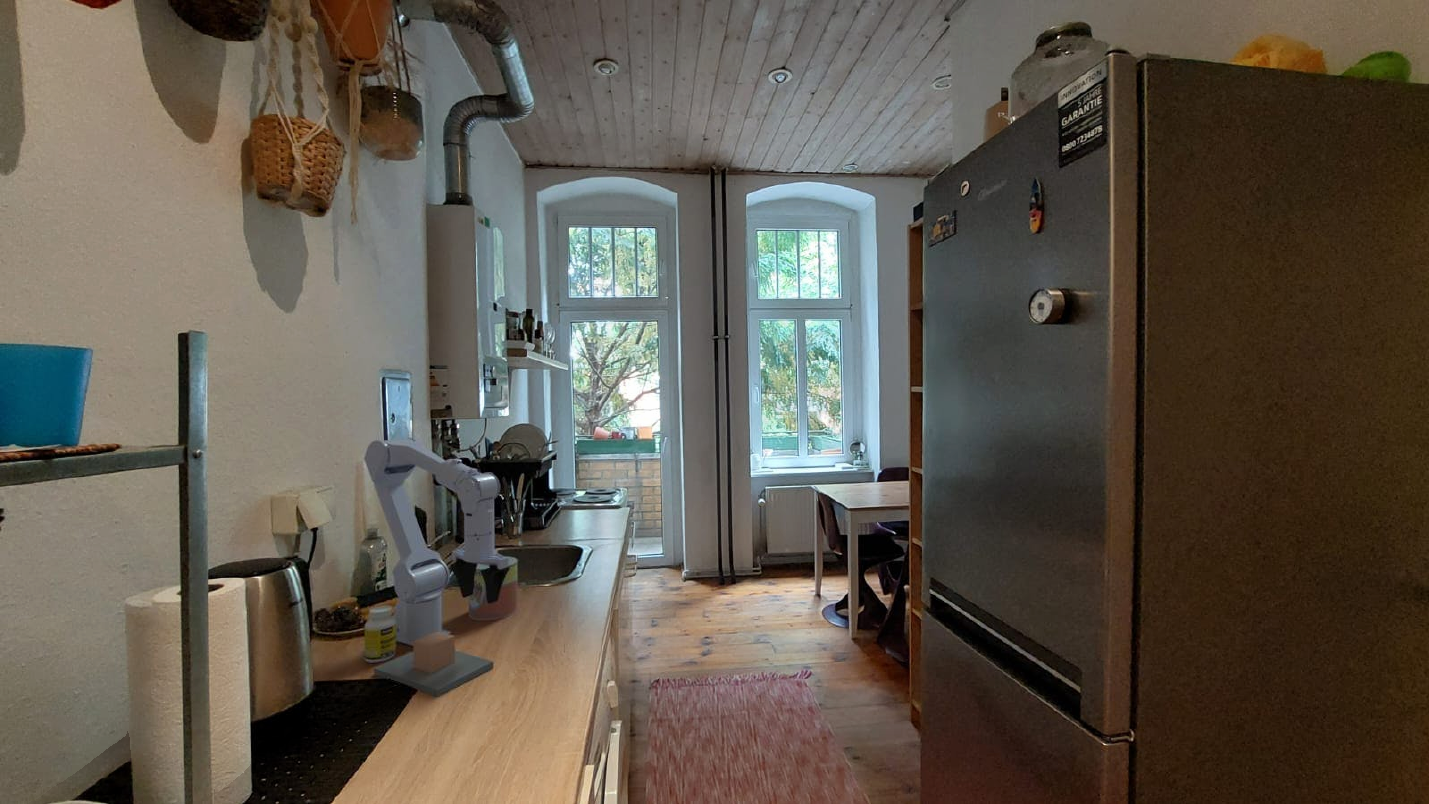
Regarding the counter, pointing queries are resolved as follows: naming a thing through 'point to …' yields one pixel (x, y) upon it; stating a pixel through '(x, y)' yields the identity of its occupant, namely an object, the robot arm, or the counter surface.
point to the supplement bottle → (380, 635)
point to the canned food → (507, 596)
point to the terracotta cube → (434, 652)
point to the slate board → (434, 673)
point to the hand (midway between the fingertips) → (480, 599)
